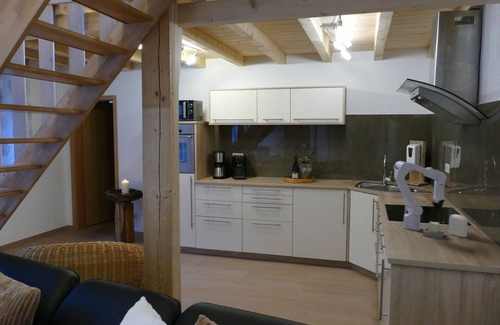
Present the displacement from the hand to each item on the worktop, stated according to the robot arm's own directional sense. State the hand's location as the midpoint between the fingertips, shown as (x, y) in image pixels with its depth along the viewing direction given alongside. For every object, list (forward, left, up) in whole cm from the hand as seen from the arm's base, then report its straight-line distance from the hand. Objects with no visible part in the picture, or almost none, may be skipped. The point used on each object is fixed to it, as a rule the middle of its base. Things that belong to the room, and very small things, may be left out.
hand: (437, 211), depth 241 cm
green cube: (+1, -18, -8) cm, 20 cm away
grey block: (+1, -18, -11) cm, 21 cm away
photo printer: (+13, -10, -11) cm, 19 cm away
